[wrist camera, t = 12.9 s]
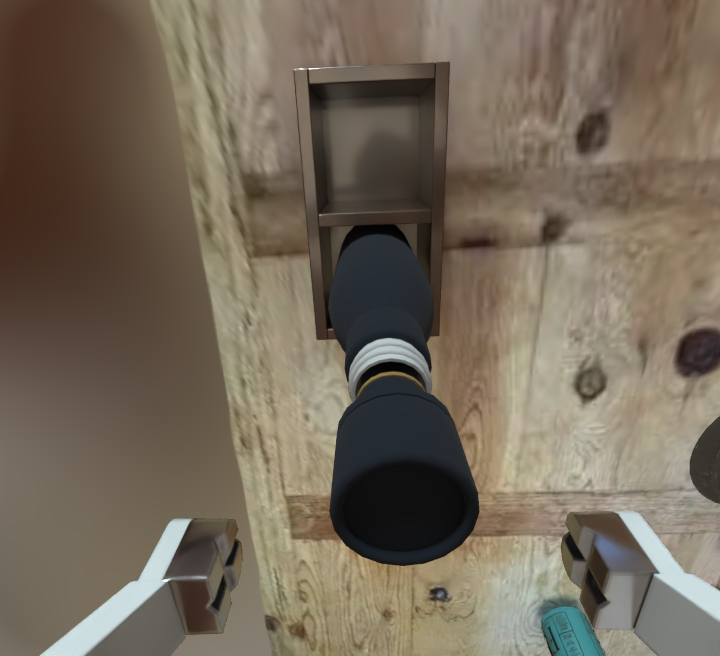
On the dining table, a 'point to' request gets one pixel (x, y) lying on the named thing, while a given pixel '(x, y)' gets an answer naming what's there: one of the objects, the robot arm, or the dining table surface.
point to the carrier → (373, 164)
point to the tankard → (707, 463)
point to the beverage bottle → (570, 633)
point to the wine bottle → (393, 411)
